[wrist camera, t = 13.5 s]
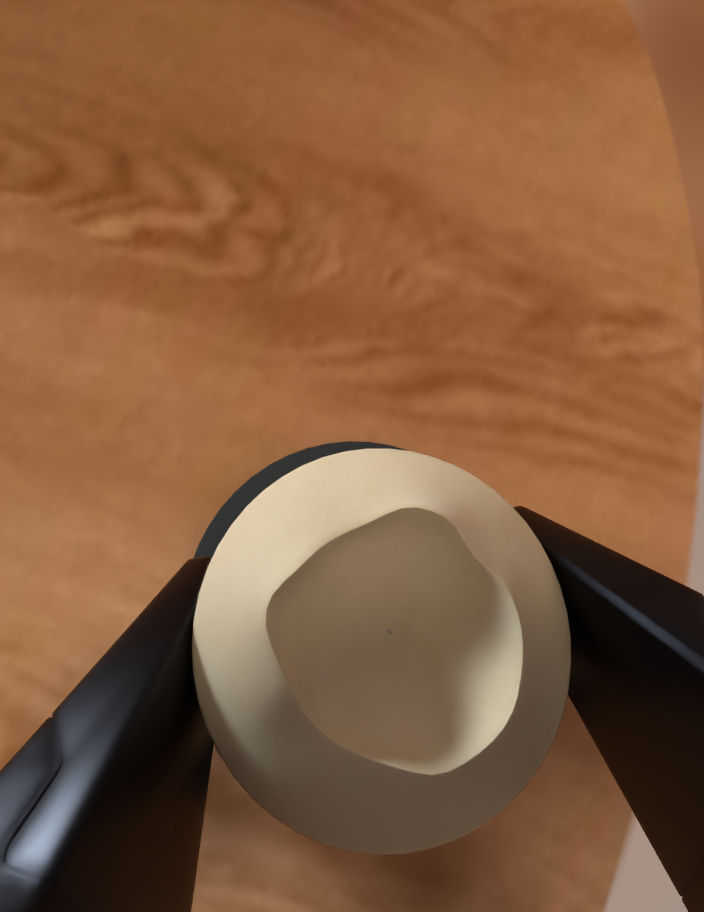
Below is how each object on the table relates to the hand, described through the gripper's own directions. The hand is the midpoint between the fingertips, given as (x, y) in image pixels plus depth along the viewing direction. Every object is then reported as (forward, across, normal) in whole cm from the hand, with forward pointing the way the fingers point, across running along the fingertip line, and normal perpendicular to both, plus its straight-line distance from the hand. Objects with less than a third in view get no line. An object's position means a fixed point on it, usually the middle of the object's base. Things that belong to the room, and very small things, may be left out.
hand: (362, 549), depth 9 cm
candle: (+4, 0, +6) cm, 7 cm away
